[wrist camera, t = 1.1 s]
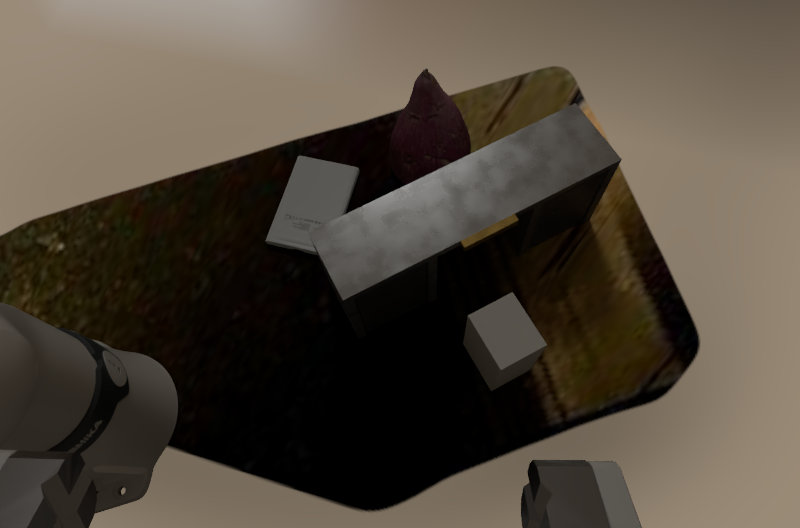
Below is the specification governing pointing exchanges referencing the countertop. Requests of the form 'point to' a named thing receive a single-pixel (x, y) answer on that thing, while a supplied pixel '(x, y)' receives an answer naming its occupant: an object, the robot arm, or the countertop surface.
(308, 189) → the external hard drive
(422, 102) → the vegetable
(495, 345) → the tall grey upright block
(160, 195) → the countertop surface
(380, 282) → the miniature grey desk
